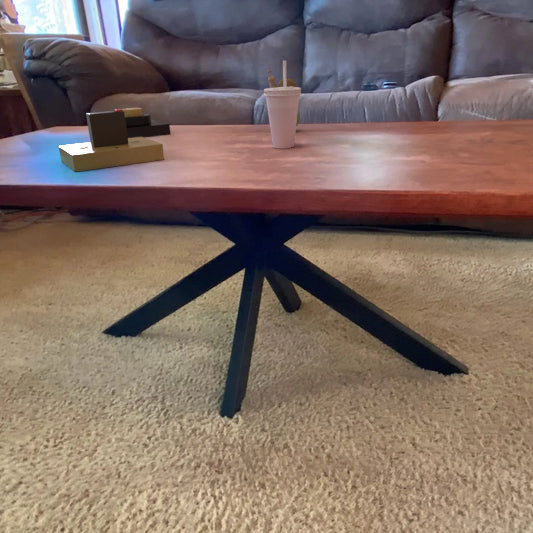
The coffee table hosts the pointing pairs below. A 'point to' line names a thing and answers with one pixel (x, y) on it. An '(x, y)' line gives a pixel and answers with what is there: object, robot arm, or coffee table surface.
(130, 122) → the block
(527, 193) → the coffee table surface
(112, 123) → the lock turn
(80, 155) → the plate
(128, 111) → the bell button
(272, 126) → the smoothie
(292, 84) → the snail figurine
